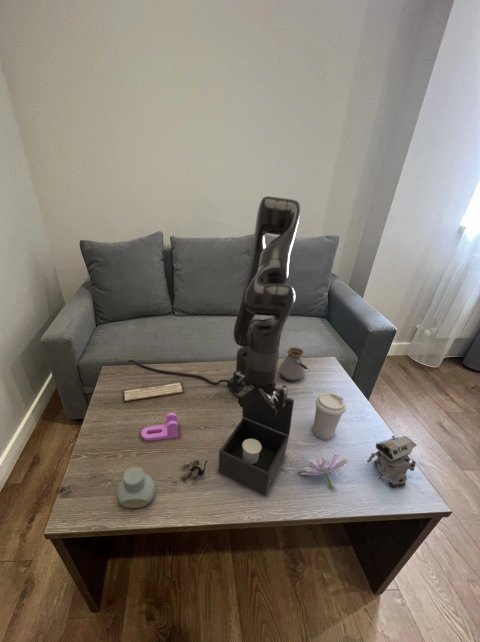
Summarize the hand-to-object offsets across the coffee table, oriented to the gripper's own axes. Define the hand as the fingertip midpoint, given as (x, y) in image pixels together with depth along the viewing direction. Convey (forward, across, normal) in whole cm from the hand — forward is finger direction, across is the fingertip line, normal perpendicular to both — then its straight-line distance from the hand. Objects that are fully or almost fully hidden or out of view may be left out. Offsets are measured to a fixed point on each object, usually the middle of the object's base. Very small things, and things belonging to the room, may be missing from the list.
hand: (256, 410), depth 86 cm
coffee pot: (+25, +2, -50) cm, 57 cm away
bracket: (+25, +34, +3) cm, 42 cm away
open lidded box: (+25, 0, -2) cm, 25 cm away
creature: (+26, +15, +10) cm, 31 cm away
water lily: (+26, -20, -10) cm, 34 cm away
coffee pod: (+19, 0, 0) cm, 19 cm away
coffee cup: (+26, -16, -28) cm, 41 cm away
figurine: (+26, -35, -20) cm, 48 cm away
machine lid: (+7, 0, -8) cm, 11 cm away
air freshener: (+26, +24, +26) cm, 44 cm away
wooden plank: (+25, +50, -14) cm, 58 cm away
